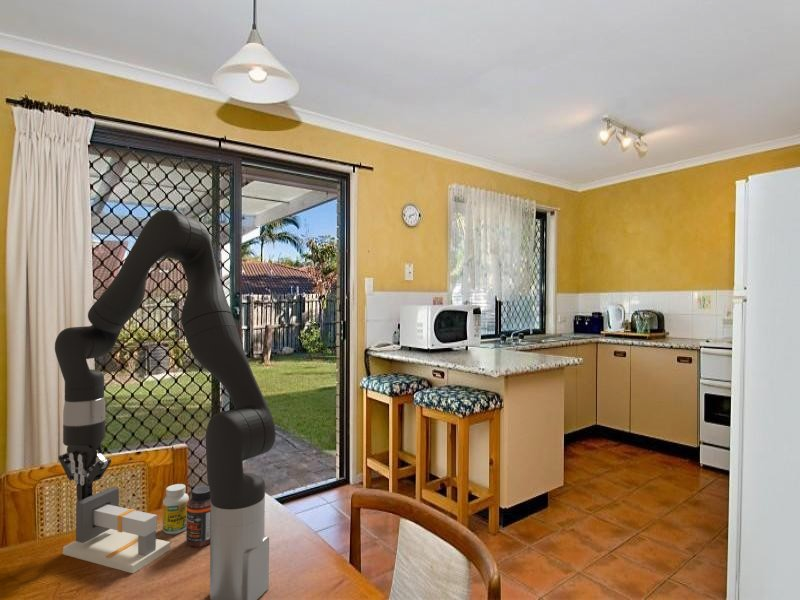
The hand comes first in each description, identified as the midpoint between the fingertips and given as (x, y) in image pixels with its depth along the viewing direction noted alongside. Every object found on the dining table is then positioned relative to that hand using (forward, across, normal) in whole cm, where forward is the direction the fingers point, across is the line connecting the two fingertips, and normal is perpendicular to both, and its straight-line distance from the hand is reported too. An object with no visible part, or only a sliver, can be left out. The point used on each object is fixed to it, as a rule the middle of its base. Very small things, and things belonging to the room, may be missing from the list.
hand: (84, 500), depth 99 cm
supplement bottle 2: (+10, -22, -10) cm, 26 cm away
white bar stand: (+9, -9, 0) cm, 13 cm away
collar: (+6, -4, 0) cm, 7 cm away
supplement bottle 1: (+10, -13, -12) cm, 20 cm away
